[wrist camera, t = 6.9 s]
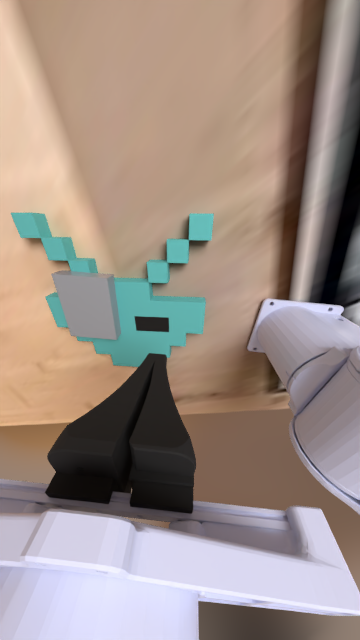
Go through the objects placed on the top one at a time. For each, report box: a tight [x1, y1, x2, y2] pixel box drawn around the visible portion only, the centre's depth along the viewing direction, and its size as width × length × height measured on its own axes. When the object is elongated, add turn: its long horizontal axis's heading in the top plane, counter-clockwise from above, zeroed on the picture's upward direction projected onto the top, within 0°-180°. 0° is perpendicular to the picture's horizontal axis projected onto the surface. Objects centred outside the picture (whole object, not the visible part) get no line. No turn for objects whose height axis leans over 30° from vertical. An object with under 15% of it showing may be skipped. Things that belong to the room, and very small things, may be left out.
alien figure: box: [11, 213, 214, 367], centre depth 22 cm, size 20×2×20 cm
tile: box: [52, 270, 121, 340], centre depth 20 cm, size 2×8×6 cm
